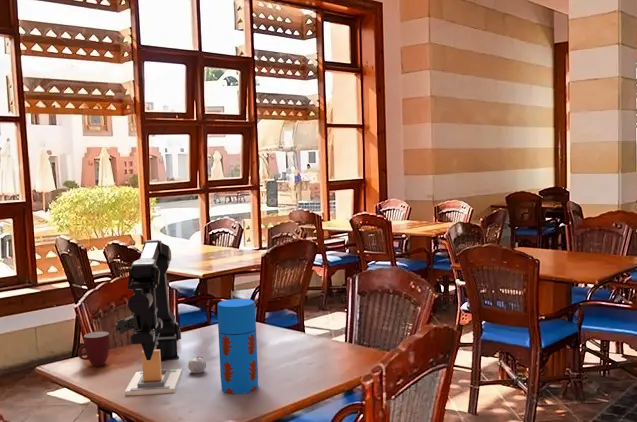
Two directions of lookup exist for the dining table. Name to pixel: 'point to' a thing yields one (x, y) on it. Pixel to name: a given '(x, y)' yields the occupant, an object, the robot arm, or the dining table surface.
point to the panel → (154, 383)
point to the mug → (96, 347)
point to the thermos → (237, 346)
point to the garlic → (197, 365)
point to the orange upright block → (152, 367)
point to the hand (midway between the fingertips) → (148, 359)
